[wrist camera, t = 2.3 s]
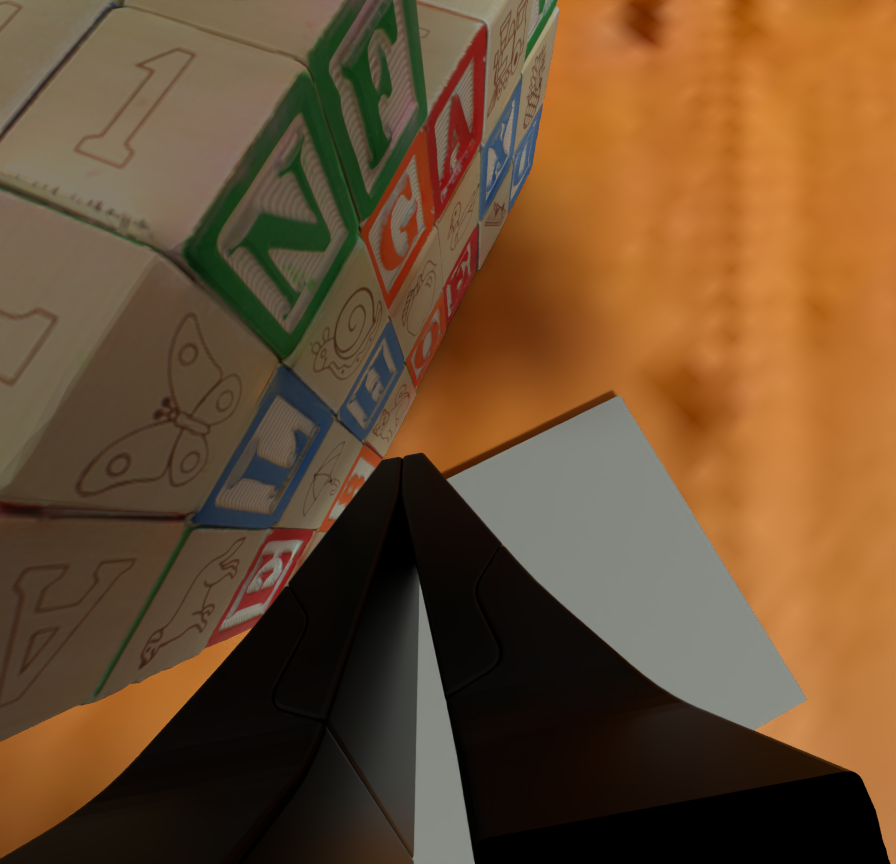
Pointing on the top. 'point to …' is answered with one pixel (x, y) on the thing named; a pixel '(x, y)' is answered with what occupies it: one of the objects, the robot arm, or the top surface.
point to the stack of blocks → (223, 296)
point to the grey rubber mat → (602, 592)
